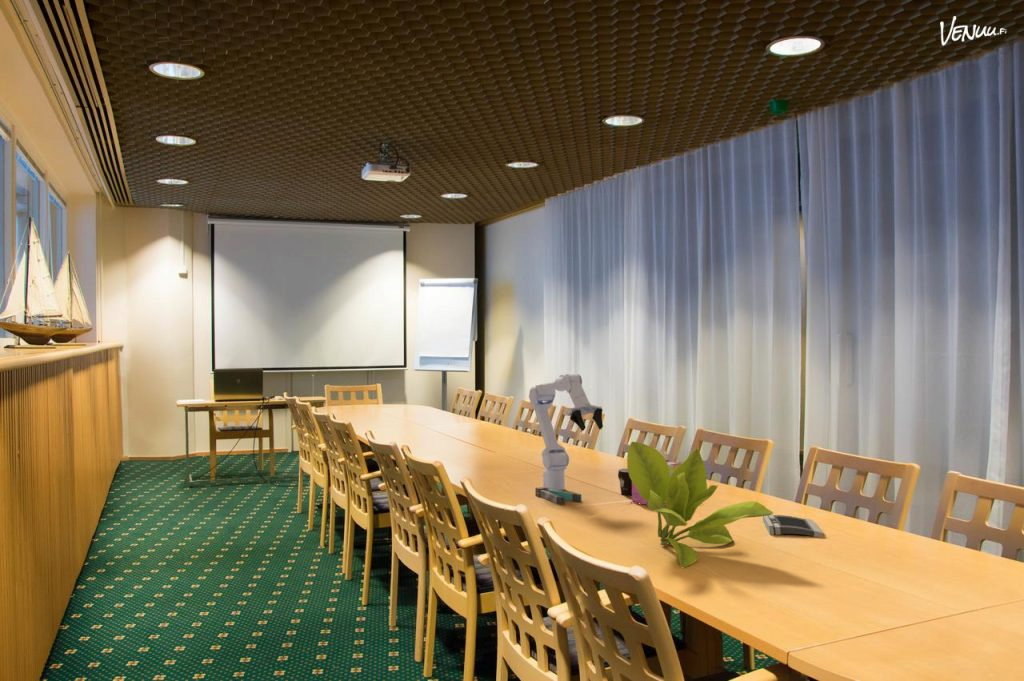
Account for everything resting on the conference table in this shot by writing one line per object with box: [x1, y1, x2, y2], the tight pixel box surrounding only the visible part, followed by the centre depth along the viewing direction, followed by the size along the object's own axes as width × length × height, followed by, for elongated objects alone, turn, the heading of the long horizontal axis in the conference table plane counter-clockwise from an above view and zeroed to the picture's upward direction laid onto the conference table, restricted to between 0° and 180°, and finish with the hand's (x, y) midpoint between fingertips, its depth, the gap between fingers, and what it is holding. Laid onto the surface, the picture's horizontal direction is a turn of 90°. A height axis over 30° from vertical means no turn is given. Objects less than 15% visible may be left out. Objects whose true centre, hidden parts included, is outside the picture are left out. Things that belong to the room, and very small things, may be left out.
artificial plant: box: [626, 441, 774, 568], centre depth 223 cm, size 42×43×30 cm
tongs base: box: [534, 486, 565, 506], centre depth 288 cm, size 19×4×4 cm, turn 26°
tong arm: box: [549, 490, 582, 503], centre depth 288 cm, size 14×2×3 cm, turn 51°
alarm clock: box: [762, 514, 824, 538], centre depth 245 cm, size 17×5×16 cm
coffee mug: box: [617, 468, 632, 498], centre depth 299 cm, size 12×9×10 cm
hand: (592, 428), depth 282 cm, fingers open, 7 cm apart
